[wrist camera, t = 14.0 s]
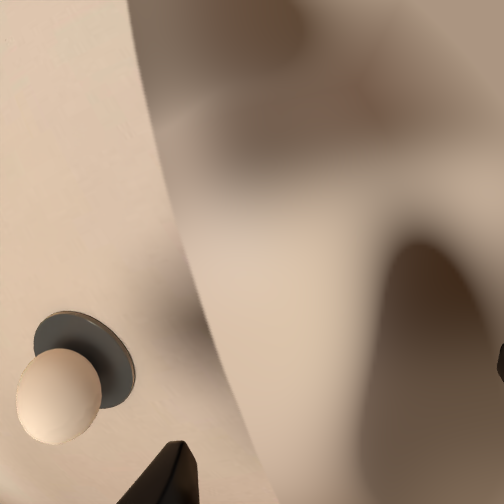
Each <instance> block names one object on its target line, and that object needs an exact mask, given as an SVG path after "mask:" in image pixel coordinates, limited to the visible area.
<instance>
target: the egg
mask: <svg viewBox="0 0 504 504" xmlns="http://www.w3.org/2000/svg"><path fill="white" fill-rule="evenodd" d="M101 398H102V393H101V384H100V380H99V377H98V374H97V372H96V370H95V369H94V367H93V365H92V364H91V363H90V362H89V361H88V360H87V359H86V358H85V357H84V356H82V355H80V354H79V353H77V352H75V351H72V350H69V349H52V350H48V351H45V352H43V353H41V354H39V355H38V356H37V357H35V358H34V359H33V360H32V361H31V362H30V363H29V364H28V366H27V367H26V369H25V370H24V371H23V373H22V375H21V378H20V380H19V383H18V388H17V395H16V408H17V413H18V417H19V420H20V423H21V424H22V426H23V428H24V429H25V431H26V432H27V433H28V434H29V435H30V436H31V437H32V438H34V439H35V440H37V441H39V442H42V443H46V444H62V443H65V442H68V441H71V440H73V439H75V438H76V437H78V436H79V435H81V434H82V433H84V432H85V431H86V430H87V429H88V428H89V427H90V425H91V424H92V422H93V420H94V419H95V417H96V416H97V413H98V411H99V408H100V405H101Z"/></svg>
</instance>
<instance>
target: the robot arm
mask: <svg viewBox="0 0 504 504" xmlns="http://www.w3.org/2000/svg"><path fill="white" fill-rule="evenodd" d="M497 371H498V374H499V375H500V377H501V379H502V380H503V382H504V344H502V346H501V349H500V354H499V359H498V363H497ZM116 504H200V502H199V488H198V471H197V463H196V460H195V458H194V456H193V454H192V452H191V451H190V449H189V447H188V445H187V444H186V442H185V441H171V442H168V443H167V444H166V445H165V447H164V448H163V449H162V450H161V451H160V453H159V454H158V455H157V456H156V457H155V459H154V460H153V461H152V462H151V464H150V465H149V466H148V467H147V468H146V470H145V471H144V472H143V473H142V474H141V475H140V477H139V478H138V479H137V480H136V481H135V483H134V484H133V485H132V486H131V487H130V488H129V490H128V491H127V492H126V493H125V494H124V495H123V497H122V498H121V499H120V500H119V501H118V502H117V503H116Z"/></svg>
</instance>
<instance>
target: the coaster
mask: <svg viewBox="0 0 504 504" xmlns="http://www.w3.org/2000/svg"><path fill="white" fill-rule="evenodd" d="M52 349H69V350H72V351H75V352H77V353H79V354H80V355H82V356H84V357H85V358H86V359H87V360H88V361H89V362H90V363H91V364H92V365H93V367H94V369H95V370H96V372H97V374H98V377H99V380H100V384H101V393H102V398H101V405H100V408H99V409H105V408H111V407H114V406H117V405H119V404H121V403H122V402H123V401H125V399H126V398H127V397H128V396H129V394H130V392H131V390H132V387H133V384H134V367H133V364H132V360H131V358H130V356H129V353H128V352H127V350H126V348H125V347H124V345H123V344H122V342H121V341H120V340H119V339H118V338H117V336H116V335H115V334H114V333H113V332H112V331H111V330H110V329H108V328H107V327H106V326H105V325H103V324H102V323H100V322H99V321H97V320H95V319H93V318H91V317H89V316H87V315H84V314H81V313H77V312H71V311H63V312H57V313H54V314H52V315H50V316H48V317H47V318H46V319H45V320H44V321H42V322H41V324H40V325H39V326H38V328H37V330H36V333H35V336H34V352H35V357H37V356H38V355H39V354H41V353H43V352H45V351H48V350H52Z"/></svg>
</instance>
